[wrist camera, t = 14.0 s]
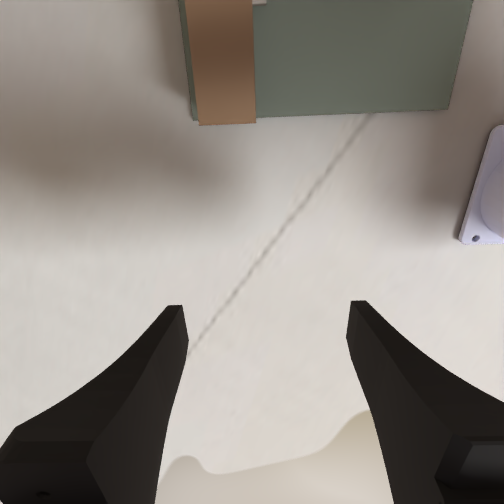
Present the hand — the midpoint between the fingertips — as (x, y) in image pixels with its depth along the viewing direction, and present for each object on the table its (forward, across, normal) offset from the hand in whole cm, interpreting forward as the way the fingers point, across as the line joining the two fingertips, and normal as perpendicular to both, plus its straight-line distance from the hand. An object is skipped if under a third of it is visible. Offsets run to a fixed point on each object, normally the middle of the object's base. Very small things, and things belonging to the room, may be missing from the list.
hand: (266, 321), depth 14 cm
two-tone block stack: (+10, +1, -12) cm, 16 cm away
